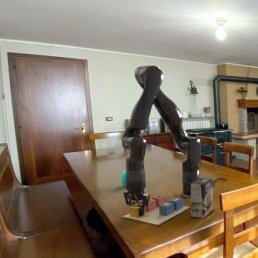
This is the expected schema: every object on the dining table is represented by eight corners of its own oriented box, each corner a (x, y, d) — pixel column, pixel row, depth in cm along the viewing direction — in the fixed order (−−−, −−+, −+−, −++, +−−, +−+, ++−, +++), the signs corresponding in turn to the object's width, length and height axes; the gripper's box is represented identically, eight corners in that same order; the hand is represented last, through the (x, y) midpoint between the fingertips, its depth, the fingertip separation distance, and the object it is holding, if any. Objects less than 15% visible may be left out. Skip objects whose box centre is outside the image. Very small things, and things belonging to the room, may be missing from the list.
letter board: (157, 201, 129) (157, 200, 128) (189, 208, 122) (189, 207, 122) (122, 217, 111) (122, 216, 111) (158, 226, 104) (158, 224, 104)
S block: (138, 212, 115) (138, 203, 115) (145, 213, 114) (145, 204, 113) (129, 216, 111) (129, 206, 110) (136, 217, 109) (136, 208, 109)
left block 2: (159, 202, 126) (159, 194, 126) (166, 203, 125) (165, 195, 124) (152, 205, 122) (151, 197, 122) (159, 207, 121) (158, 198, 120)
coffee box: (203, 218, 111) (203, 184, 109) (190, 217, 112) (190, 183, 110) (213, 210, 120) (212, 178, 118) (201, 209, 121) (200, 177, 119)
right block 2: (176, 205, 123) (176, 197, 122) (183, 207, 121) (183, 198, 121) (169, 209, 119) (169, 200, 118) (176, 210, 117) (176, 201, 117)
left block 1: (149, 207, 121) (149, 198, 120) (156, 208, 119) (155, 199, 119) (141, 210, 117) (141, 201, 116) (148, 212, 115) (148, 203, 115)
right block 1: (166, 210, 117) (166, 201, 117) (174, 212, 116) (173, 203, 115) (159, 214, 113) (158, 205, 113) (166, 216, 112) (166, 206, 111)
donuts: (140, 187, 150) (139, 171, 149) (121, 188, 147) (120, 172, 146) (144, 182, 159) (143, 167, 158) (126, 183, 156) (125, 168, 155)
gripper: (154, 178, 112) (156, 213, 113) (131, 174, 116) (133, 209, 118) (140, 183, 105) (141, 221, 106) (116, 179, 109) (118, 215, 111)
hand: (137, 214), depth 112 cm, fingers closed on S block, 4 cm apart
